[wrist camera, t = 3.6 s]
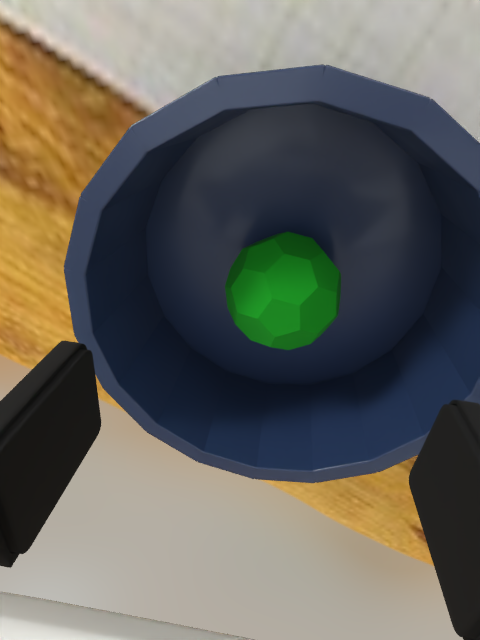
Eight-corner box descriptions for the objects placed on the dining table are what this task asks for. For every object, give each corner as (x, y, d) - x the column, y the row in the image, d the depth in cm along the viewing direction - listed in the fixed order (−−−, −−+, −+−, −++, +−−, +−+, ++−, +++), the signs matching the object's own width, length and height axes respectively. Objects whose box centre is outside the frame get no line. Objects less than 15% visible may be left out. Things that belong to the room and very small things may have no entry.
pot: (524, 100, 14) (667, 97, 9) (397, 410, 22) (428, 511, 17) (124, 61, 15) (25, 35, 10) (141, 368, 23) (91, 449, 18)
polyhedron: (358, 279, 18) (375, 330, 14) (278, 331, 20) (272, 389, 16) (294, 197, 17) (291, 227, 12) (215, 262, 19) (190, 306, 15)
